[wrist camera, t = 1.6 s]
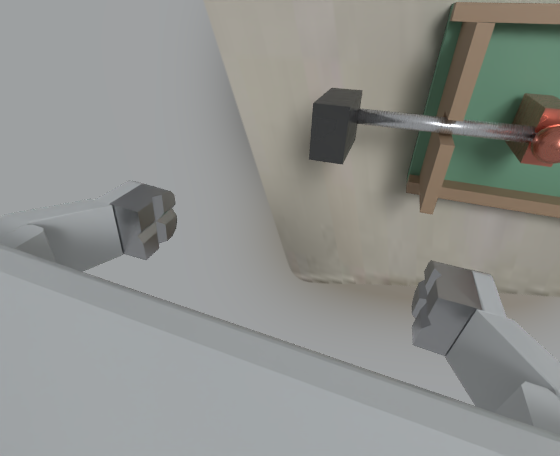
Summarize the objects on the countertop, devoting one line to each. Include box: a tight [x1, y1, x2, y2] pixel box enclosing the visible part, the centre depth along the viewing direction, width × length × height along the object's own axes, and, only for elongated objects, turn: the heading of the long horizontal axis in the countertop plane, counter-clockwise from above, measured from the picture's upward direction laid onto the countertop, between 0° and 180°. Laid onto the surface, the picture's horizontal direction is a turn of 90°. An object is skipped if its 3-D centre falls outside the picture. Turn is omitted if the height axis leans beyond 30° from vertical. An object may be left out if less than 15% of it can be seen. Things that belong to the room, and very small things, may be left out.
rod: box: [309, 88, 560, 167], centre depth 25 cm, size 17×4×11 cm, turn 89°
